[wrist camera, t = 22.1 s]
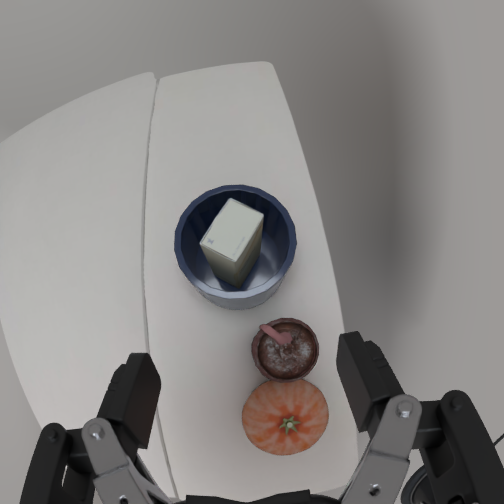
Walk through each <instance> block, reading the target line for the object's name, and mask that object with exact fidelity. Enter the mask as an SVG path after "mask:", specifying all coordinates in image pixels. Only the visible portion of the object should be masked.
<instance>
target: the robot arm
mask: <svg viewBox="0 0 504 504" xmlns="http://www.w3.org/2000/svg"><path fill="white" fill-rule="evenodd" d="M336 365H337V371H338V374H339V377H340V380H341V382H342V385H343V388H344V391H345V393H346V396H347V399H348V402H349V405H350V408H351V410H352V413H353V416H354V419H355V422H356V425H357V428H358V431H359V433H360V432H364V431H368V434H369V437H370V440H369V443H368V445H367V447H366V449H365V451H364V453H363V456H362V458H361V460H360V462H359V464H358V466H357V468H356V470H355V471H354V473H353V475H352V477H351V479H350V480H349V482H348V484H347V485H346V487H345V489H344V491H343V492H342V494H341V496H340V497H339V499H338V500H337V499H334V498H331V497H328V496H324V495H316V494H310V490H309V489H308V490H302V491H296V492H289V493H280V494H276V495H273V496H270V497H266V498H263V499H260V500H256V501H252V502H239V501H234V500H229V499H224V498H220V497H216V496H194V495H186V500H185V501H180V502H176V503H174V504H394V502H395V500H396V498H397V495H398V493H399V491H400V489H401V486H402V484H403V481H404V479H405V476H406V473H407V471H408V468H409V464H410V460H408V458H409V454H410V451H411V449H419V451H420V453H421V456H422V460H423V463H424V466H425V469H426V473H425V474H423V475H422V476H421V477H420V478H419V480H418V481H417V482H416V483H415V485H414V486H413V488H412V490H411V493H410V496H409V500H410V503H411V504H504V468H503V465H502V463H501V461H500V458H499V456H498V454H497V451H496V449H495V447H494V446H495V445H496V444H497V443H498V442H499V441H500V440H501V439H503V438H504V434H503V435H502V436H501V437H500V438H499V439H497V441H496V442H494V443H492V441H491V438H490V436H489V434H488V432H487V430H486V428H485V426H484V424H483V422H482V420H481V418H480V416H479V414H478V412H477V410H476V409H475V407H474V405H473V403H472V401H471V399H470V398H469V396H468V395H467V394H466V393H464V392H462V391H459V390H452V391H449V392H447V393H446V394H445V395H444V396H443V398H442V399H441V400H437V401H423V402H422V401H418V400H417V399H416V398H415V397H413V396H411V395H407V394H405V393H404V391H403V389H402V388H401V386H400V384H399V382H398V380H397V379H396V376H395V374H394V373H393V371H392V369H391V367H390V366H389V363H388V362H387V360H386V358H385V357H384V354H383V353H382V351H381V349H380V347H378V346H377V345H376V344H375V343H373V342H372V341H366V342H364V341H363V339H362V337H361V335H360V333H359V332H358V331H355V332H350V333H344V334H340V336H339V343H338V351H337V358H336ZM160 390H161V379H160V376H159V374H158V372H157V370H156V368H155V365H154V363H153V361H152V359H151V357H150V355H149V354H148V353H131V354H130V355H129V357H128V360H127V362H126V364H121V365H120V367H119V368H118V369H117V370H116V371H115V372H114V374H113V377H112V379H111V383H110V384H109V386H108V391H106V394H105V396H104V399H103V401H102V404H101V407H100V409H99V412H98V415H97V417H96V418H94V419H91V420H89V421H88V422H87V423H86V424H85V425H84V426H83V428H81V429H71V430H66V429H65V428H64V427H63V426H62V425H60V424H58V423H50V424H48V425H46V426H45V427H44V428H43V430H42V432H41V434H40V437H39V440H38V442H37V445H36V448H35V451H34V454H33V457H32V460H31V463H30V466H29V470H28V473H27V476H26V480H25V484H24V487H23V491H22V495H21V499H20V504H93V497H94V491H95V488H96V490H97V492H98V494H99V496H100V499H101V501H102V502H103V504H173V503H172V501H171V500H170V499H169V498H168V497H167V495H166V494H165V493H164V492H163V491H162V490H161V489H160V488H159V486H158V485H157V483H156V482H155V480H154V479H153V477H152V476H151V474H150V473H149V471H148V469H147V468H146V466H145V464H144V463H143V461H142V459H141V457H140V456H139V454H138V453H137V450H138V448H141V449H147V448H148V443H149V438H150V433H151V429H152V424H153V420H154V415H155V411H156V407H157V402H158V398H159V394H160ZM66 465H67V466H68V467H67V471H66V475H65V479H64V483H63V487H62V479H63V475H64V471H65V467H66Z"/></svg>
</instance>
